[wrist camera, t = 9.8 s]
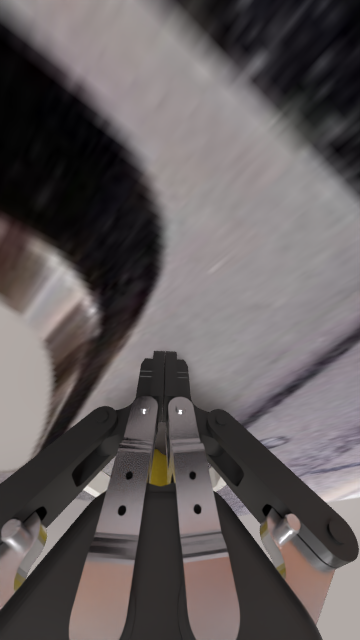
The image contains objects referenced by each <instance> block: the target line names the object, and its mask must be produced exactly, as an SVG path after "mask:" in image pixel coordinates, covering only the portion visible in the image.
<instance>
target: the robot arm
mask: <svg viewBox="0 0 360 640" xmlns="http://www.w3.org/2000/svg"><path fill="white" fill-rule="evenodd" d="M164 359H165V366H164ZM162 407H163V421H162V422H166V434H165V438H166V456H167V485H164V486H157V485H153V484H150V482H151V472H152V464H153V456H154V449H155V441H156V435H157V432H158V422H161V420H162ZM116 454H117V455H116ZM115 456H116V458H115V462H114V466H113V469H112V473H111V477H110V480H109V484H108V488H107V490H106V491H105V492H103V493H101V494H100V495H99V496H97V497H96V498H95V499H94V500H93V501H92V502H91V503H90V504H89V505H88V506H87V507H86V508H85V510H84V511H83V512H82V513H81V514H80V516H79V517H78V518H77V519H76V520H75V522H74V523H73V524H72V525H71V526H70V528H69V529H68V530H67V531H66V532H65V533H64V535H63V536H62V537H61V538H60V539H59V541H58V542H57V543H56V544H55V546H54V547H53V548H52V549H51V550H50V551H49V552H48V554H47V555H46V556H45V557H44V558H43V560H42V561H41V562H40V563H39V564H38V566H37V567H36V568H35V569H34V570H33V572H32V573H31V574H30V575H29V576H28V577H27V574H28V572H29V570H30V568H31V566H32V565H33V563H34V562H35V560H36V559H37V558H38V556H39V555H40V553H41V552H42V550H43V548H44V546H45V543H46V539H47V529H46V528H47V527H48V526H49V525H50V524H51V523H52V522H53V521H54V520H55V519H56V517H58V515H59V514H60V513H61V512H62V511H63V510H64V509H65V508H66V507H67V506H68V505H69V504H70V503H71V502H72V501H73V500H74V499H75V498H76V497H77V495H78V494H79V493H80V492H81V491H82V490H83V489H84V488H85V487H86V486H87V485H88V484H89V483H90V482H91V481H92V480H93V479H94V478H95V477H96V476H97V474H98V473H99V472H100V471H101V470H102V469H103V468H104V467H105V466H106V465H107V464H108V463H109V462H110V461H111V460H112V459H113V458H114V457H115ZM207 461H208V462H209V463H210V465H211V466H212V467H213V468H214V469H215V471H216V472H217V473H218V474H219V475H220V477H221V478H222V479H223V480H224V481H225V482H226V484H227V485H228V486H229V487H230V488H231V490H232V491H233V492H234V493H235V494H236V496H237V497H238V498H239V499H240V500H241V501H242V503H243V504H244V505H245V506H246V507H247V509H248V510H249V511H250V512H251V513H252V515H253V516H254V517H255V518H256V519H257V521H258V522H259V523H260V524H261V525H260V536H261V540H262V543H263V545H264V547H265V548H266V550H267V552H268V553H269V555H270V557H271V559H272V561H273V564H274V565H273V564H272V562H271V561H270V560H269V558H268V557H267V556H266V554H265V553H264V552H263V550H262V549H261V548H260V546H259V545H258V544H257V542H256V541H255V540H254V538H253V537H252V536H251V534H250V533H249V532H248V530H247V529H246V528H245V526H244V525H243V524H242V522H241V521H240V520H239V518H238V517H237V515H236V514H235V513H234V511H233V510H232V509H231V507H230V506H229V505H228V504H227V502H226V501H225V500H224V499H223V498H222V497H221V496H220V495H219V494H218V493H216V492H215V491H213V487H212V483H211V478H210V473H209V468H208V463H207ZM358 552H359V548H358V543H357V539H356V537H355V535H354V533H353V531H352V529H351V528H350V526H349V525H348V524H347V522H346V521H345V520H344V519H343V518H342V517H341V516H340V515H339V514H337V513H336V512H335V511H334V510H333V509H332V508H331V507H330V506H329V505H327V503H326V502H324V501H323V500H322V499H321V498H320V497H319V496H318V495H317V494H316V493H315V492H314V491H313V490H311V489H310V488H309V487H308V486H307V485H306V484H305V483H304V482H303V481H302V480H301V479H299V478H298V477H297V476H296V475H295V474H294V473H293V472H292V471H291V470H290V469H289V468H288V467H286V466H285V465H284V464H283V463H282V462H281V461H280V460H279V459H278V458H277V457H276V456H275V455H273V454H272V453H271V452H270V451H269V450H268V449H267V448H266V447H265V446H264V445H263V444H261V443H260V442H259V441H258V440H257V439H256V438H255V437H254V436H253V435H252V434H251V433H250V432H248V431H247V430H246V429H245V428H244V427H243V426H242V425H241V424H240V423H239V422H238V421H237V420H235V419H234V418H233V417H232V416H231V415H230V414H229V413H228V412H226V411H224V410H221V409H216V410H213V411H211V412H210V413H209V412H206V411H203V410H201V409H199V408H197V407H196V406H195V405H194V404H193V403H192V401H191V396H190V386H189V375H188V366H187V364H186V362H185V361H184V360H177V353H176V352H169V351H166V353H165V351H154V355H153V359H147V358H145V360H144V361H143V362H142V364H141V369H140V375H139V381H138V387H137V394H136V398H135V400H134V402H133V403H132V404H131V405H129V406H128V407H126V408H123V409H120V410H116V411H115V410H114V409H113V408H111V407H108V406H102V407H99V408H97V409H95V410H94V411H92V412H91V413H90V414H88V415H87V416H86V417H85V418H83V419H82V420H81V421H80V422H78V423H77V424H76V425H75V426H73V427H72V428H71V429H69V430H68V431H67V432H66V433H64V434H63V435H62V436H61V437H59V438H58V439H57V440H56V441H54V442H53V443H52V444H50V445H49V446H48V447H47V448H45V449H44V450H43V451H42V452H40V453H39V454H38V455H37V456H35V457H34V458H33V459H31V460H30V461H29V462H28V463H26V464H25V465H24V466H23V467H21V468H20V469H19V470H18V471H16V472H15V473H14V474H12V475H11V476H10V477H9V478H7V479H6V480H5V481H4V482H2V483H1V484H0V640H322V637H321V635H320V633H319V631H318V628H317V627H316V624H317V622H318V618H319V616H320V613H321V610H322V607H323V604H324V601H325V598H326V596H327V592H328V590H329V587H330V584H331V581H332V578H333V575H334V572H335V570H336V569H337V568H339V567H341V566H343V565H346V564H348V563H350V562H352V561H354V560H355V559H356V558H357V556H358ZM26 577H27V579H26Z"/></svg>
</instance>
